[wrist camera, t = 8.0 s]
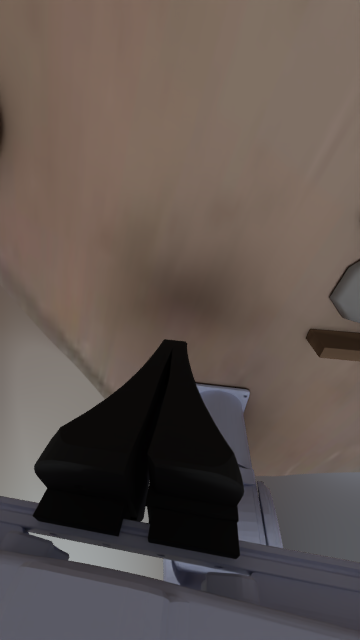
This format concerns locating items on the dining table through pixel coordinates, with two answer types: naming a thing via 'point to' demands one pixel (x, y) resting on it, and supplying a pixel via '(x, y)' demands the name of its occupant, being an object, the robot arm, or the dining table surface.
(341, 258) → the dining table surface
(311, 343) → the corral
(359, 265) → the flask
